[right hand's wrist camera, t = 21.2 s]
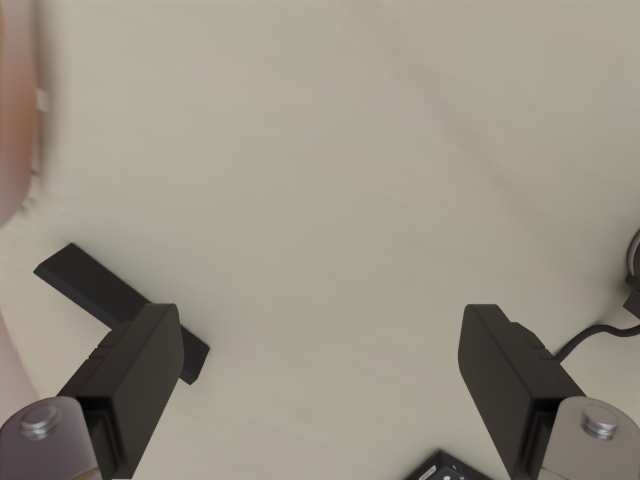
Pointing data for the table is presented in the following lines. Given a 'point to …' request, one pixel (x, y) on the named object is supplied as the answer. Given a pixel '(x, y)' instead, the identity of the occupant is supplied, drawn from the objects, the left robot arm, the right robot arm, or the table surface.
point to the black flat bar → (109, 299)
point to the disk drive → (446, 470)
